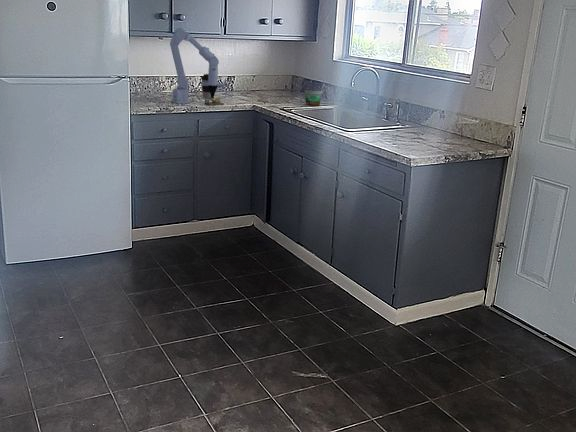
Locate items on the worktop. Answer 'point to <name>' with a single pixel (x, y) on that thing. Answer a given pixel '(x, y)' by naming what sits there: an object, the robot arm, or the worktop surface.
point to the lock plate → (212, 103)
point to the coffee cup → (206, 87)
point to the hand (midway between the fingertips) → (212, 98)
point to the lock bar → (215, 99)
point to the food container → (313, 97)
